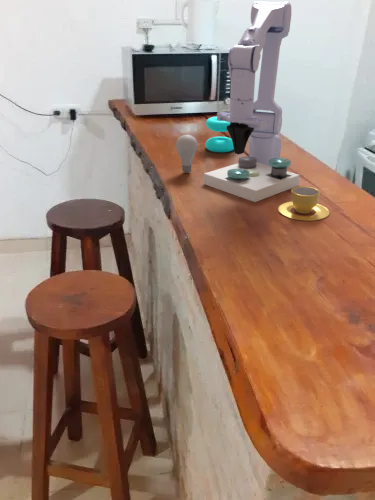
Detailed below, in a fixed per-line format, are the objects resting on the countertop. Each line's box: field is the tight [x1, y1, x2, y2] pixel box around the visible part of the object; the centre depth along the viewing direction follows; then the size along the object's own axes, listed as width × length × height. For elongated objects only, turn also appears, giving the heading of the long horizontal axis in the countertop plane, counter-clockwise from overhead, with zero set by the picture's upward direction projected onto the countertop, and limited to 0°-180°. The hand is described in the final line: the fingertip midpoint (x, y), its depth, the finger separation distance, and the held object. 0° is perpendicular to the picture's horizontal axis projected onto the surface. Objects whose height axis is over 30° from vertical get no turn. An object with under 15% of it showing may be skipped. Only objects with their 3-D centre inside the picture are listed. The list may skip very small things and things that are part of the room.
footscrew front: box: [227, 169, 249, 183], centre depth 133 cm, size 6×6×5 cm
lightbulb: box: [175, 134, 199, 174], centre depth 143 cm, size 6×6×11 cm
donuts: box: [205, 115, 234, 153], centre depth 166 cm, size 10×10×10 cm
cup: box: [277, 185, 330, 222], centre depth 120 cm, size 12×12×5 cm
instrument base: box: [203, 155, 300, 203], centre depth 136 cm, size 18×18×5 cm
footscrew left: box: [269, 157, 292, 180], centre depth 134 cm, size 6×6×5 cm
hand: (239, 153), depth 129 cm, fingers closed
